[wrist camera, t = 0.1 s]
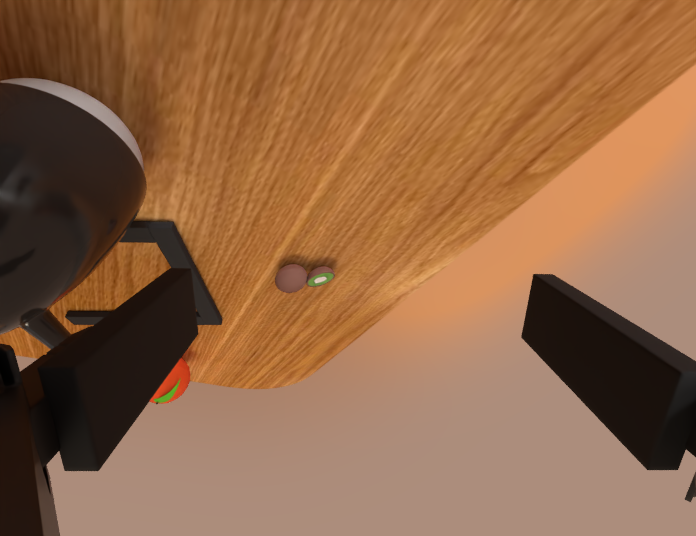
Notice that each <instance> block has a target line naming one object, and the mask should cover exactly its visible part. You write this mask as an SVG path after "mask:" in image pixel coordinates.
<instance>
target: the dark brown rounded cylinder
mask: <svg viewBox="0 0 696 536" xmlns="http://www.w3.org/2000/svg"><path fill="white" fill-rule="evenodd" d="M146 189H147V186H146V178H145V174H144V165H143V159H142V155H141V152H140V149H139V147H138V144H137V142H136V140H135V138H134V137H133V135H132V133H131V132H130V131H129V129H128V128H127V126H126V125H125V124H124V123H123V122H122V121H121V119H120V118H119V117H118V116H117V115H116V114H115V113H113V112H112V111H111V110H110V109H109V108H108V107H106V106H105V105H104V104H102V103H101V102H99V101H98V100H96V99H95V98H93V97H91V96H90V95H88V94H86V93H84V92H82V91H80V90H78V89H75V88H73V87H70V86H68V85H65V84H61V83H58V82H54V81H50V80H44V79H36V78H15V79H8V80H2V81H0V334H3V333H6V332H9V331H11V330H13V329H15V328H18V327H21V328H22V329H24V330H25V331H27V332H28V333H29V334H31V335H32V336H33V337H35V338H36V339H38V340H39V341H40V342H42V343H43V344H44V345H46V346H47V347H48V348H50V349H52V348H54V347H55V346H58V344H59V343H61V342H62V341H64V340H65V339H66V338H68V337H69V336H71V334H70V333H69V332H68V330H67V329H66V328H65V327H64V326H63V325H62V324H61V323H60V322H59V321H58V319H57V318H56V317H55V316H54V315H53V314H52V313H51V312H50V310H49V308H50V307H51V306H53V305H54V304H55V303H56V302H58V301H59V300H60V299H62V298H63V297H64V296H66V295H67V294H69V293H70V292H71V291H72V290H74V289H75V288H76V287H77V286H78V285H79V284H81V283H82V282H83V281H84V280H85V279H86V278H87V277H88V276H89V275H90V274H91V273H92V272H93V271H94V270H95V269H96V268H97V267H98V266H99V265H100V264H101V263H102V262H103V261H104V260H105V258H106V257H107V256H108V255H109V254H110V253H111V251H112V250H113V249H114V248H115V246H116V245H117V244H118V243H119V241H120V240H121V238H122V237H123V236H124V234H125V233H126V231H127V230H128V228H129V227H130V225H131V224H132V222H133V221H134V219H135V218H136V216H137V214H138V212H139V210H140V208H141V206H142V204H143V202H144V199H145V195H146Z"/></svg>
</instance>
